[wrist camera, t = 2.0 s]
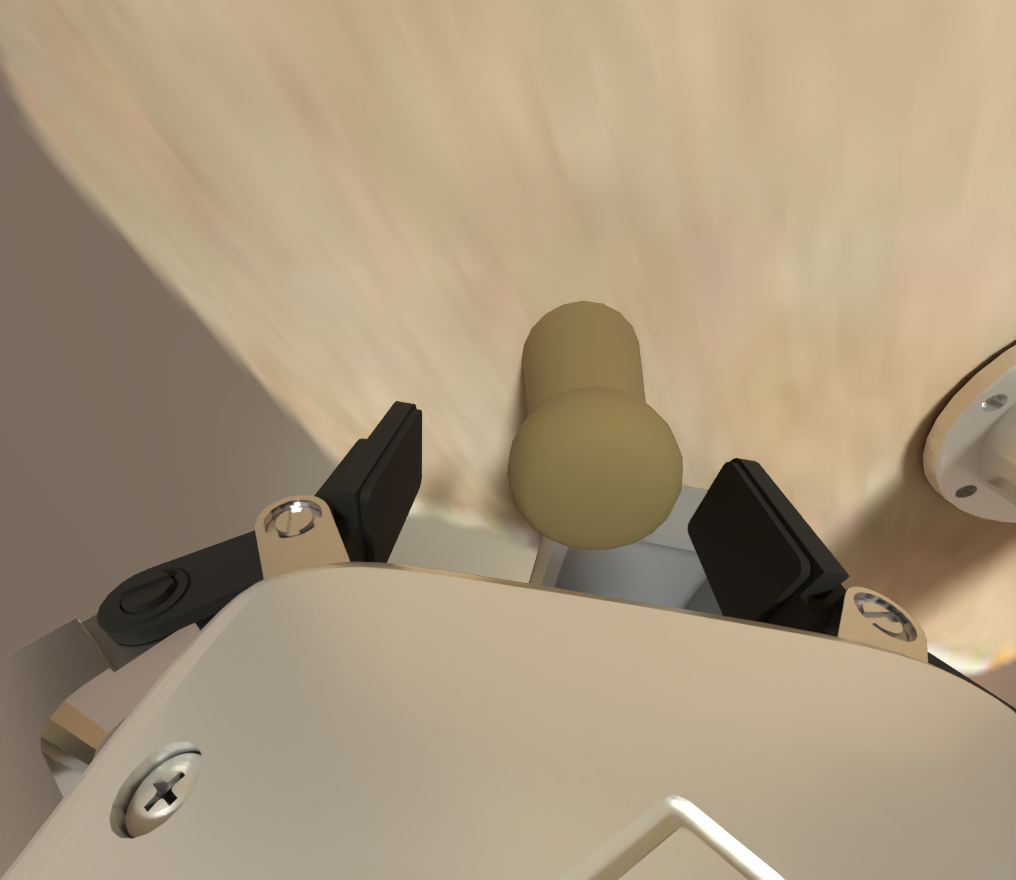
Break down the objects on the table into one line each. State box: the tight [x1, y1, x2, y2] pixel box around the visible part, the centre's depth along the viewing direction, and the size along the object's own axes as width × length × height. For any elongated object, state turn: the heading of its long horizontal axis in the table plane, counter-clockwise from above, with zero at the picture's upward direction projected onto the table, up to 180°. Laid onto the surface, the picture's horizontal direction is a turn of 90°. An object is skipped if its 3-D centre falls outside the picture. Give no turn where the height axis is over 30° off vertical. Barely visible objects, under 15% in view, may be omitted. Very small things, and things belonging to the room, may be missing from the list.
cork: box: [508, 301, 683, 550], centre depth 14 cm, size 6×6×11 cm
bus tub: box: [529, 486, 723, 616], centre depth 24 cm, size 13×13×4 cm
